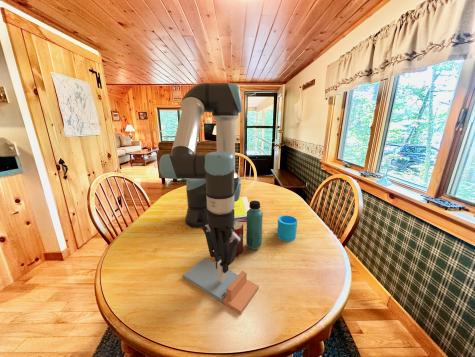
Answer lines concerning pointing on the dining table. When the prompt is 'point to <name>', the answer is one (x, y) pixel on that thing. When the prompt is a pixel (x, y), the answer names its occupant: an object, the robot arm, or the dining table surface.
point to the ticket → (209, 279)
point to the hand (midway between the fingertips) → (222, 278)
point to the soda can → (239, 231)
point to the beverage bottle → (254, 225)
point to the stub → (240, 293)
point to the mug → (287, 228)
